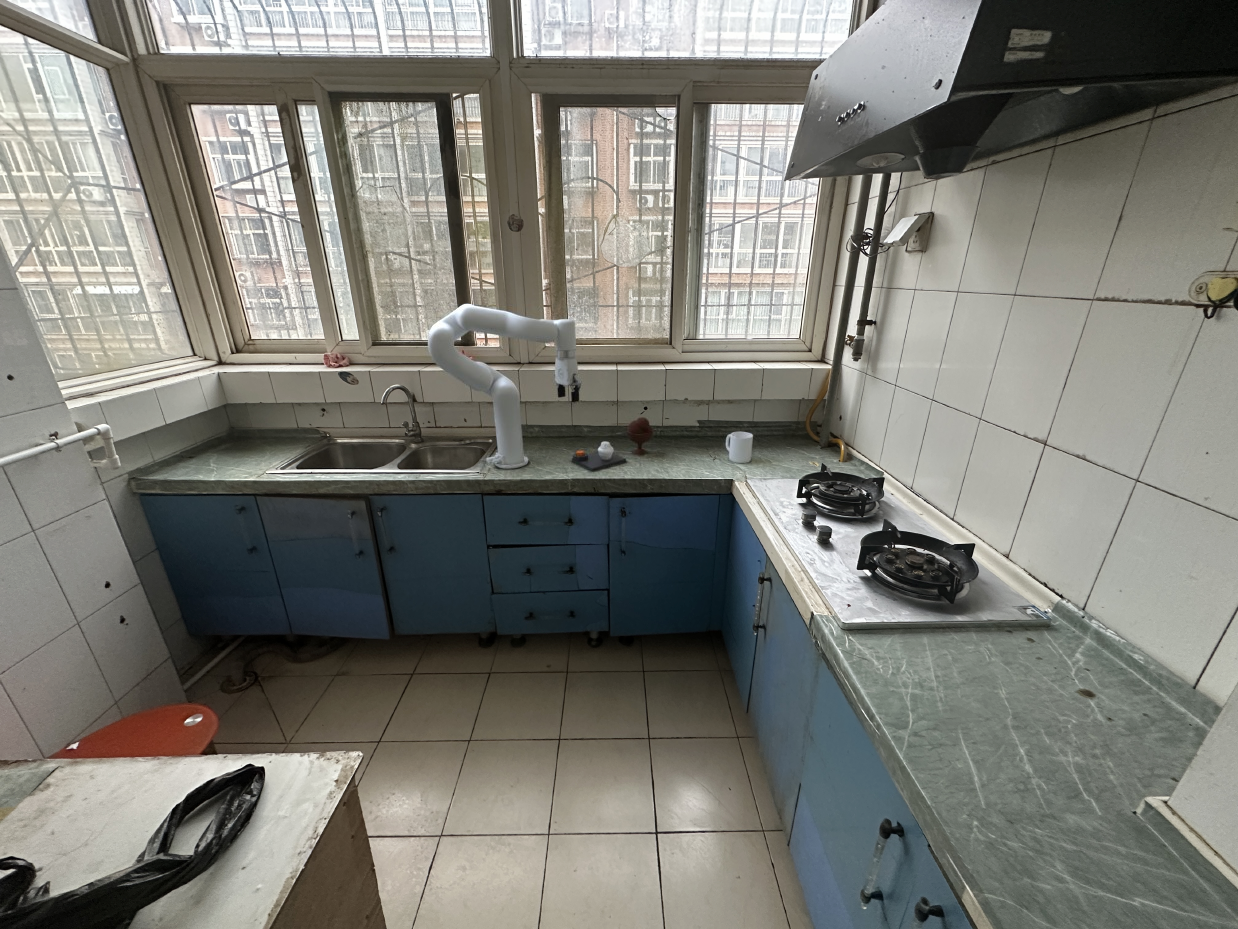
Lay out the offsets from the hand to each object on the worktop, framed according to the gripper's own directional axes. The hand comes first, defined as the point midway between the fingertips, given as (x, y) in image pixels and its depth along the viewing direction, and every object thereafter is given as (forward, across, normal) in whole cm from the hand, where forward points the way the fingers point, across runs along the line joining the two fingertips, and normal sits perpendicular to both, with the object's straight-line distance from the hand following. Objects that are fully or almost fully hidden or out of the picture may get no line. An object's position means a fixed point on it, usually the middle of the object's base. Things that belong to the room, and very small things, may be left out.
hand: (568, 399), depth 190 cm
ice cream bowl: (+24, +14, +24) cm, 36 cm away
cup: (+24, +43, +49) cm, 69 cm away
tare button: (+21, +7, 0) cm, 22 cm away
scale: (+23, +12, +5) cm, 27 cm away
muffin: (+22, +14, +7) cm, 27 cm away
